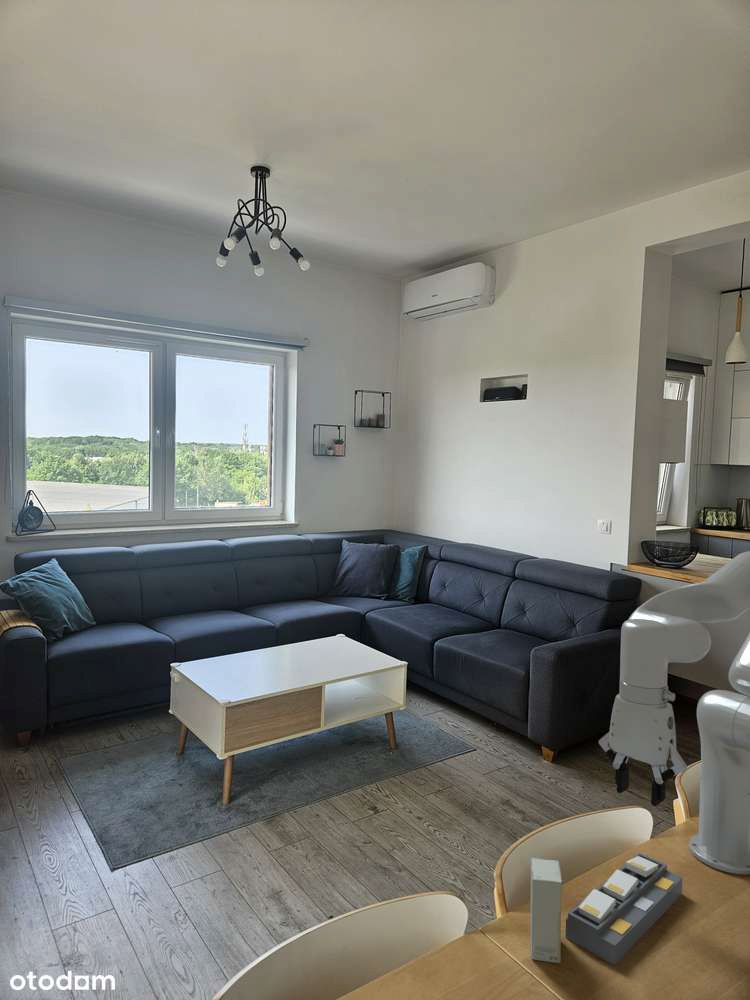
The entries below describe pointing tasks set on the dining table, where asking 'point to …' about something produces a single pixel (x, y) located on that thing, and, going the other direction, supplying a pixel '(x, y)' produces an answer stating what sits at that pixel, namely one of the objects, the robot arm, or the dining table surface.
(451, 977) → the dining table surface
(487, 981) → the dining table surface
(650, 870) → the plate
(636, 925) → the switch unit
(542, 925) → the skincare box
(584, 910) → the block
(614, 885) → the block
